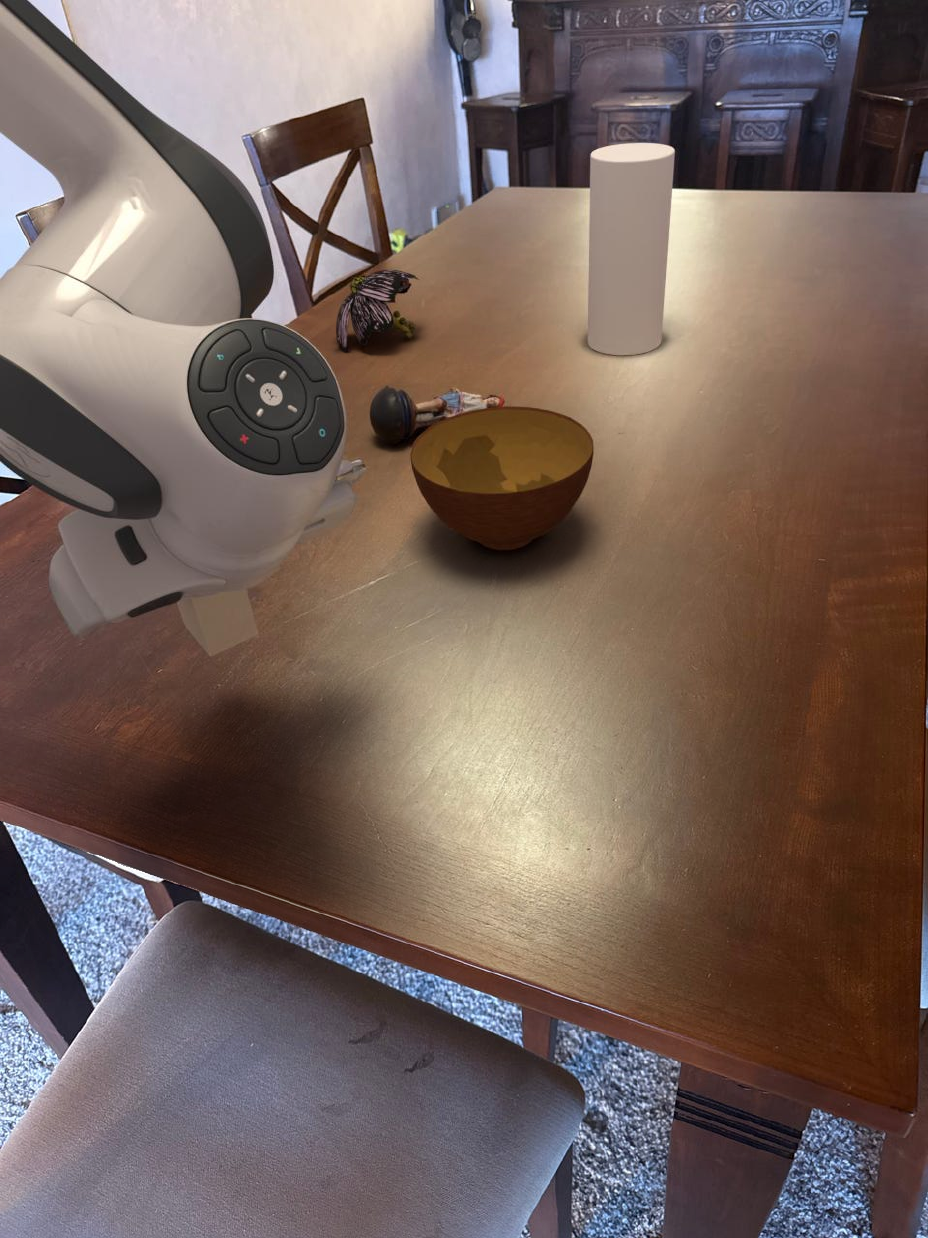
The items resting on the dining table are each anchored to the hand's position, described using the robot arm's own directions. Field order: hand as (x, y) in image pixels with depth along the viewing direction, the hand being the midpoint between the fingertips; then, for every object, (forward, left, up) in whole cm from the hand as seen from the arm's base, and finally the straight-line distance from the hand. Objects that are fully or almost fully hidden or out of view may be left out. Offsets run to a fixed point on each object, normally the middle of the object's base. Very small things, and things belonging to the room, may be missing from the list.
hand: (201, 575), depth 64 cm
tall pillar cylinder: (+60, +58, -14) cm, 85 cm away
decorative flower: (+27, +75, -14) cm, 81 cm away
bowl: (+28, +16, -14) cm, 35 cm away
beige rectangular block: (0, -1, -5) cm, 5 cm away
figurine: (+28, +42, -14) cm, 53 cm away
